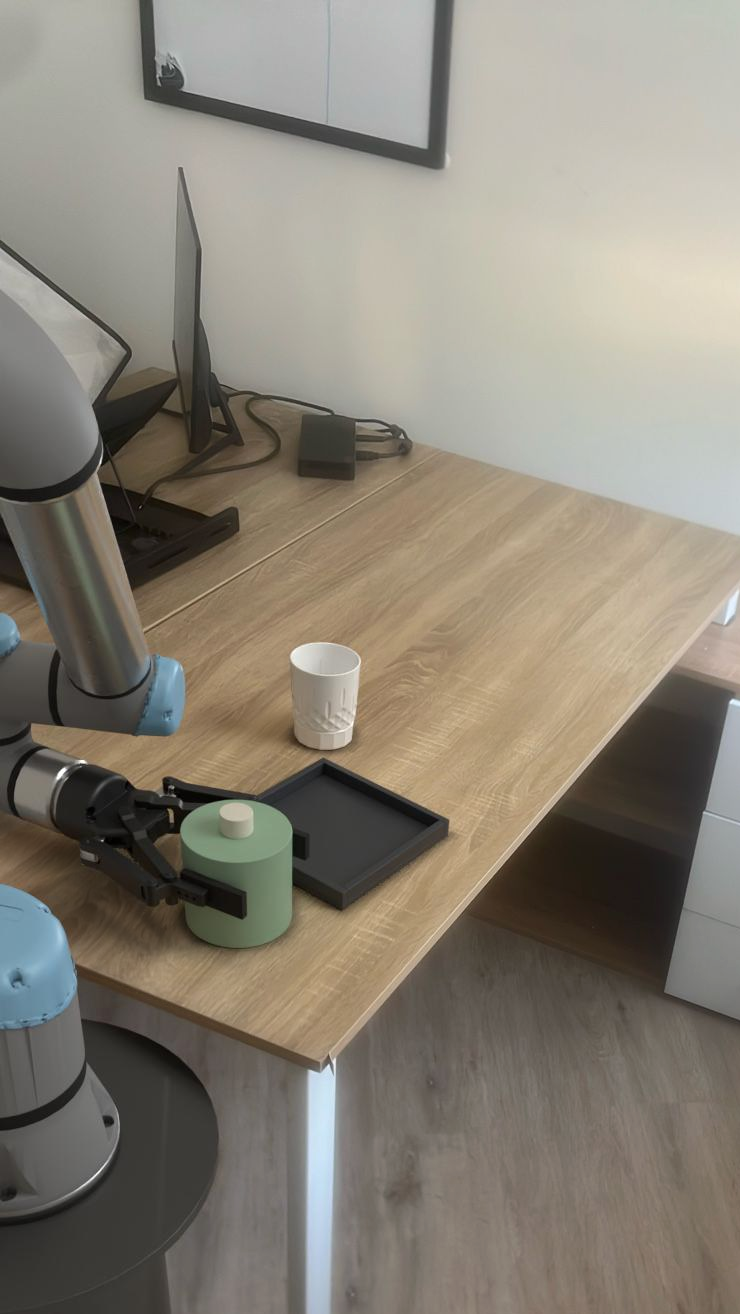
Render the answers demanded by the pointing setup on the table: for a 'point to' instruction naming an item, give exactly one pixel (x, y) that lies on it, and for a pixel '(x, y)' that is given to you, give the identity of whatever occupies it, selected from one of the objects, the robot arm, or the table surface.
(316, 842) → the tray
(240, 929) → the cover
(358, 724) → the table surface
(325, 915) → the table surface
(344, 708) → the white cup
